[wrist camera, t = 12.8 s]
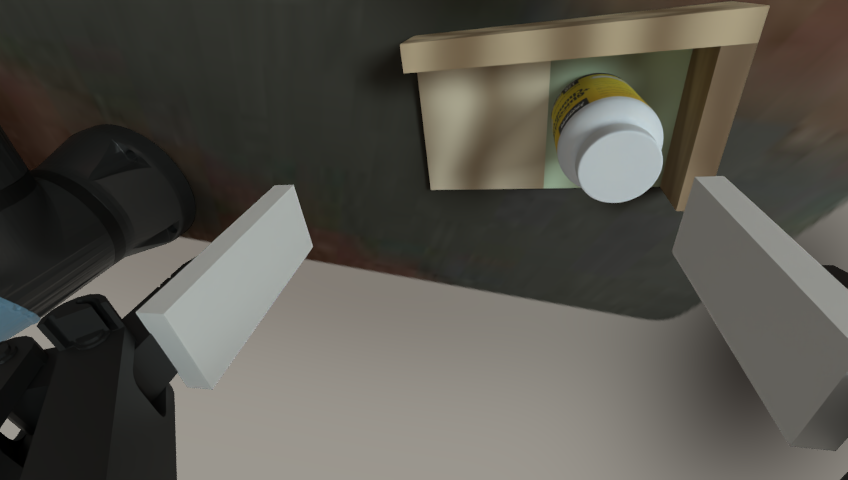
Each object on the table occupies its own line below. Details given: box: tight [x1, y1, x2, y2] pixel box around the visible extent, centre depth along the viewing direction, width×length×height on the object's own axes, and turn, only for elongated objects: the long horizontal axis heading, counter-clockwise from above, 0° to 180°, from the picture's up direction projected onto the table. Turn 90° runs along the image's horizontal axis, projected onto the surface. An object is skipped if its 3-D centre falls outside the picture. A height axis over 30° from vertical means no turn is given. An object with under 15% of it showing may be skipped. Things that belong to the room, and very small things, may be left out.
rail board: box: [400, 1, 770, 211], centre depth 32 cm, size 23×14×5 cm, turn 97°
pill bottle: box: [551, 73, 663, 203], centre depth 28 cm, size 6×6×12 cm
